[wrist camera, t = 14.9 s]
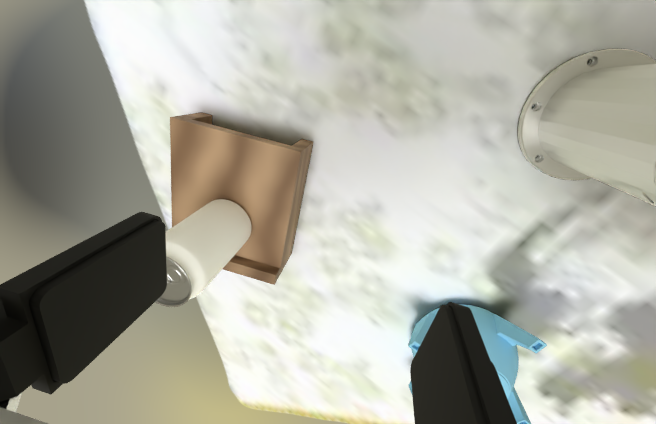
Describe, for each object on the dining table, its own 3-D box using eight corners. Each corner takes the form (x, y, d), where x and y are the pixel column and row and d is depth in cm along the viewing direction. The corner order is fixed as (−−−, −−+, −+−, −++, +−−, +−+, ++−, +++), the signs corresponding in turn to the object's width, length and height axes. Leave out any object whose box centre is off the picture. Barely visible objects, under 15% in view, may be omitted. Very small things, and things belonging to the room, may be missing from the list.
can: (262, 236, 36) (209, 301, 25) (222, 250, 38) (156, 317, 27) (235, 189, 34) (165, 239, 23) (194, 208, 36) (112, 261, 25)
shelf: (313, 141, 36) (297, 155, 29) (291, 253, 43) (274, 284, 37) (201, 112, 37) (160, 118, 30) (198, 226, 44) (164, 251, 38)
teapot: (403, 291, 43) (408, 352, 33) (517, 292, 39) (560, 359, 30) (407, 365, 49) (412, 436, 39) (507, 371, 45) (540, 450, 36)
